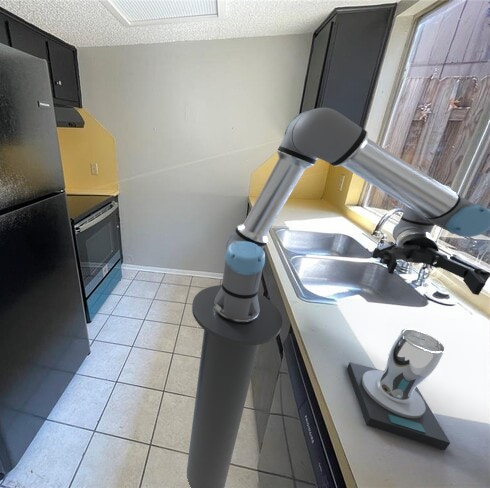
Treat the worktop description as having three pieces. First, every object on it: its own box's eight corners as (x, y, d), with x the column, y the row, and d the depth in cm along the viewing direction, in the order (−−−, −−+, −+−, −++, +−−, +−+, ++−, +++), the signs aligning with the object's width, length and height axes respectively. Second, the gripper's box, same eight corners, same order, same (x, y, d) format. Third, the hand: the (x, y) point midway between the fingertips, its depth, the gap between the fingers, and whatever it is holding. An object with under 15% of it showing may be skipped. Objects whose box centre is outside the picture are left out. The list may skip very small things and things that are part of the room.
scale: (346, 368, 67) (350, 359, 65) (407, 385, 63) (413, 375, 62) (366, 425, 54) (371, 415, 52) (444, 450, 50) (452, 440, 49)
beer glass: (406, 412, 53) (441, 359, 47) (368, 386, 58) (394, 336, 52) (417, 395, 57) (450, 344, 51) (380, 372, 62) (406, 323, 56)
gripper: (473, 271, 66) (510, 315, 50) (357, 246, 79) (357, 274, 63) (489, 245, 63) (534, 282, 47) (365, 223, 76) (368, 246, 60)
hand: (433, 278), depth 55 cm, fingers open, 13 cm apart
